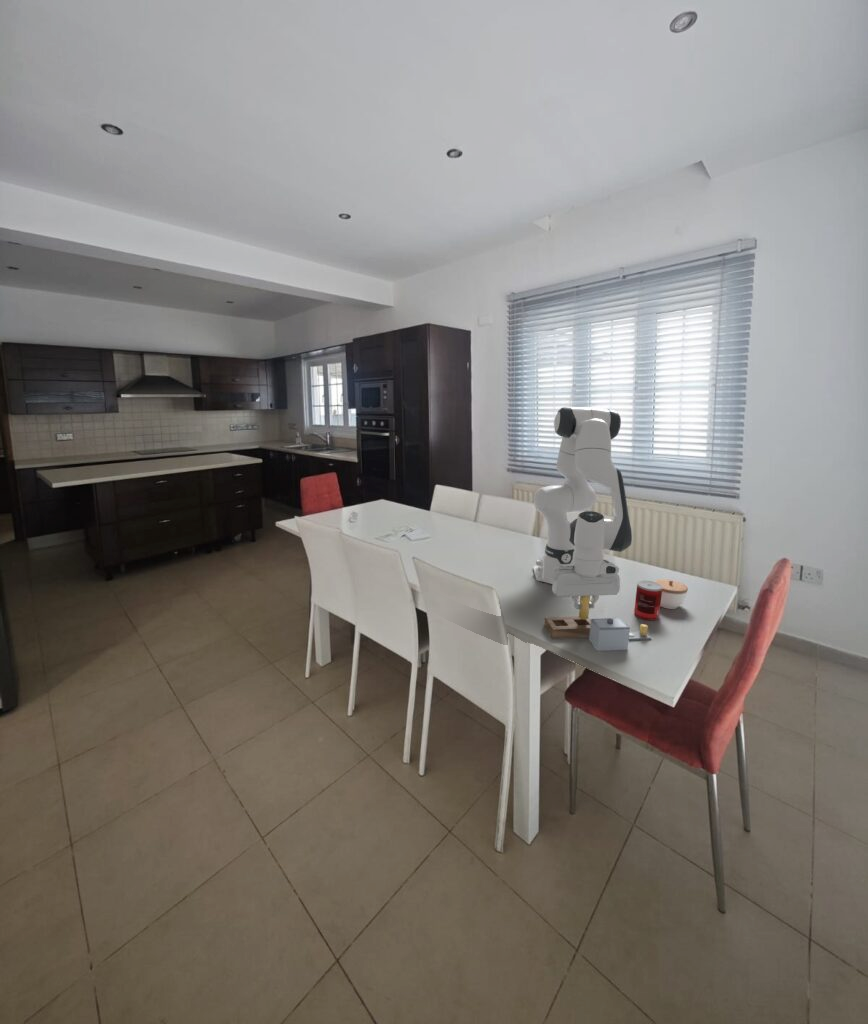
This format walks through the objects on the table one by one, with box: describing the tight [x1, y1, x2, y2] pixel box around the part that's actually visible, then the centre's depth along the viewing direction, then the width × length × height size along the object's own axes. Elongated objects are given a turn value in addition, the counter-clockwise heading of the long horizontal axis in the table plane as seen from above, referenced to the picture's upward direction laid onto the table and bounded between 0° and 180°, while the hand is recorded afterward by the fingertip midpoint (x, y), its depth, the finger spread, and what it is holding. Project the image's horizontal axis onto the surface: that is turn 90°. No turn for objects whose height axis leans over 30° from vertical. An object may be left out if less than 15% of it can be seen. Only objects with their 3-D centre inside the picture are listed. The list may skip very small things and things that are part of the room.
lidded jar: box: [654, 579, 689, 610], centre depth 161 cm, size 11×11×9 cm
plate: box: [628, 623, 652, 642], centre depth 139 cm, size 4×7×4 cm, turn 95°
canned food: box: [633, 580, 662, 621], centre depth 153 cm, size 8×8×11 cm
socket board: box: [543, 615, 592, 640], centre depth 143 cm, size 8×14×3 cm, turn 95°
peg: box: [578, 596, 591, 620], centre depth 141 cm, size 3×3×8 cm
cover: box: [588, 617, 631, 652], centre depth 134 cm, size 6×9×8 cm, turn 95°
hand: (584, 608), depth 141 cm, fingers closed on peg, 3 cm apart
